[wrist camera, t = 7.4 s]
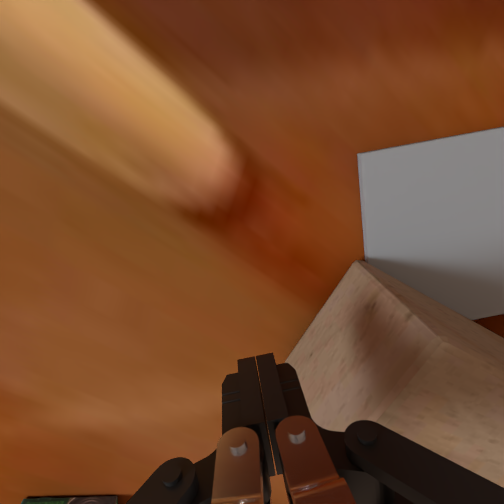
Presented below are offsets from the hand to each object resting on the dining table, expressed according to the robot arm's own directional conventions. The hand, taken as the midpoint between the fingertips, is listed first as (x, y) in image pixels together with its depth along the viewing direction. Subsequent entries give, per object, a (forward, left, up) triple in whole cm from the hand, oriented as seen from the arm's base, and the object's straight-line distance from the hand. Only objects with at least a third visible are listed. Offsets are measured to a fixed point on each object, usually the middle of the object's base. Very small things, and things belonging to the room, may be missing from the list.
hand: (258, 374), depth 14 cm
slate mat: (0, +19, -11) cm, 22 cm away
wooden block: (+4, +5, -5) cm, 8 cm away
